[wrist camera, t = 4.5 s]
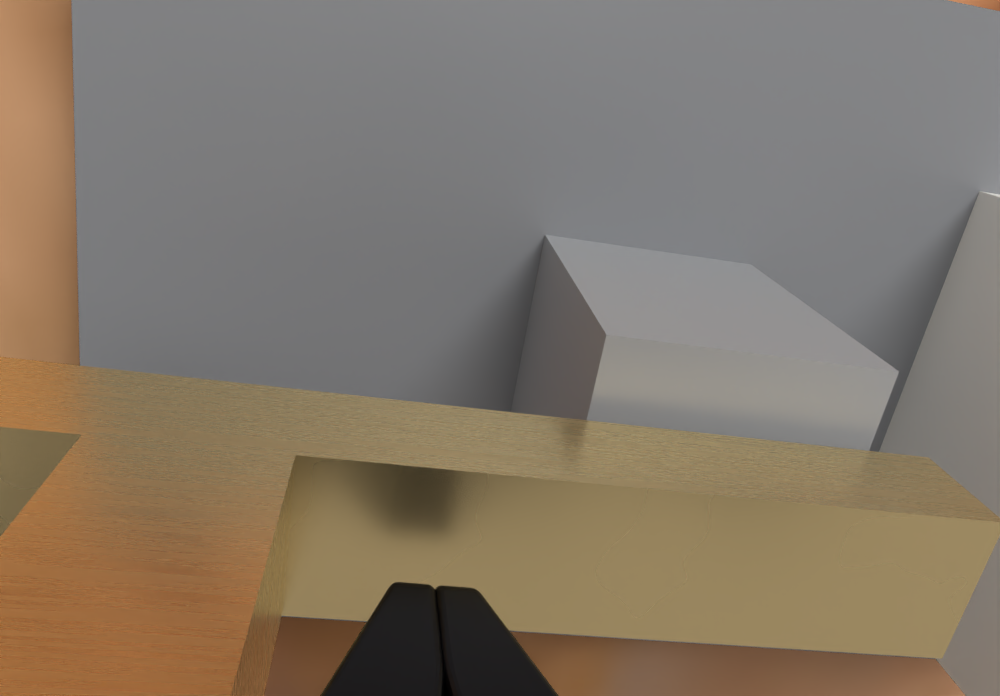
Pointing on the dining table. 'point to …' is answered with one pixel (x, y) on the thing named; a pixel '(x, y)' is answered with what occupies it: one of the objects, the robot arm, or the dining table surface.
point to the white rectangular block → (963, 423)
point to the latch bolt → (435, 529)
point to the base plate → (534, 201)
